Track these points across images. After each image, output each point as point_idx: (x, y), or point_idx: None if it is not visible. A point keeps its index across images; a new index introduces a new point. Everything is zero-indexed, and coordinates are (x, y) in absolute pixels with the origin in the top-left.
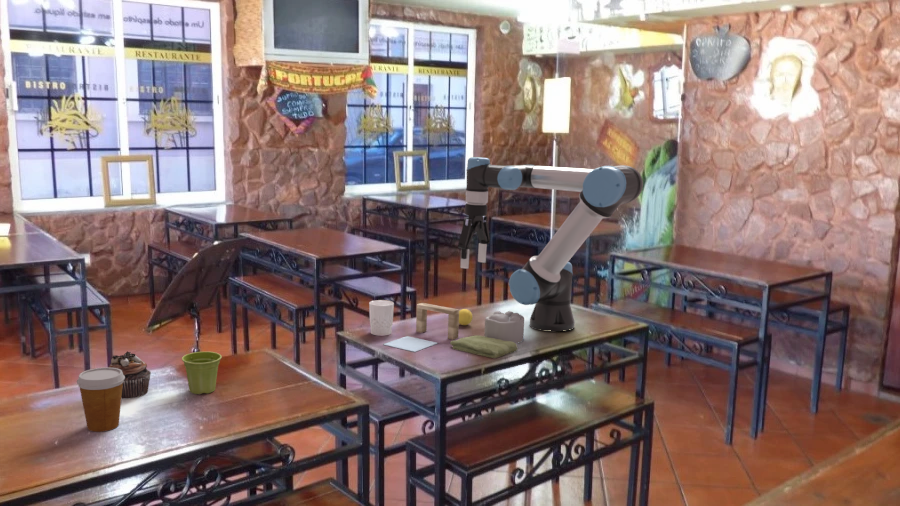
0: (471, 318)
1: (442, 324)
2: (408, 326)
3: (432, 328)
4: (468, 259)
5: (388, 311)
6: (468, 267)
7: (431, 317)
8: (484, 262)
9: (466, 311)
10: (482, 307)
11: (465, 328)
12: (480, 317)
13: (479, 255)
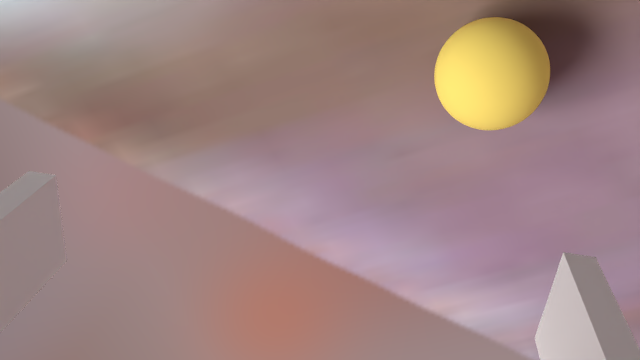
0: (506, 19)
1: (518, 174)
2: (626, 308)
3: (630, 196)
4: (617, 344)
5: None
6: (571, 260)
7: (393, 264)
8: (53, 181)
9: (521, 68)
10: (30, 93)
11: (566, 23)
12: (254, 27)
13: (14, 297)
